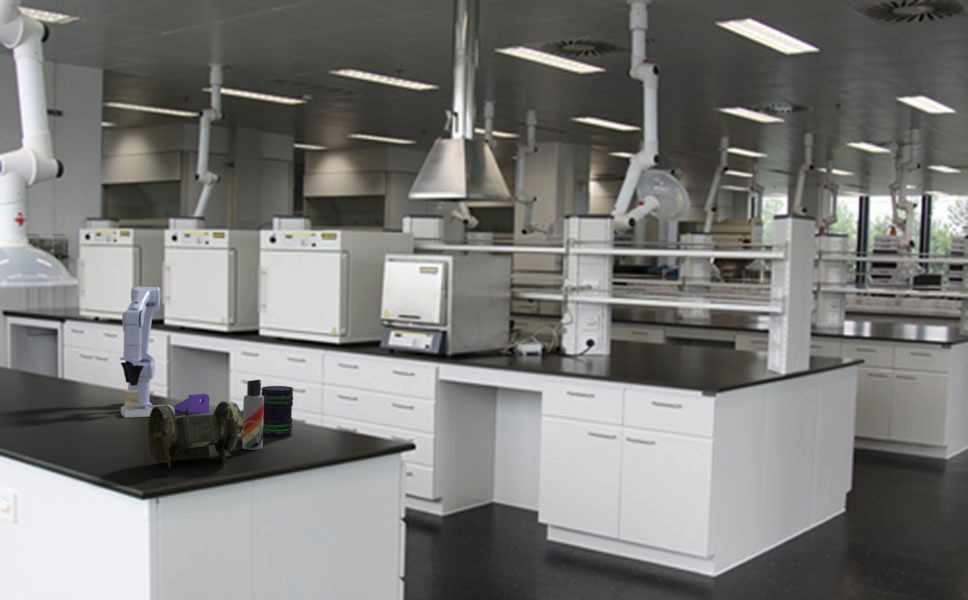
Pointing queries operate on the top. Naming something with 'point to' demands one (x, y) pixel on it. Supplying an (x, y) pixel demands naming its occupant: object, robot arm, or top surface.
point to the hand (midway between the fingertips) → (131, 384)
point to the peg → (130, 398)
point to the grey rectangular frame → (139, 411)
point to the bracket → (194, 404)
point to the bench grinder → (193, 433)
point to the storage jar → (277, 411)
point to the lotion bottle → (253, 416)
